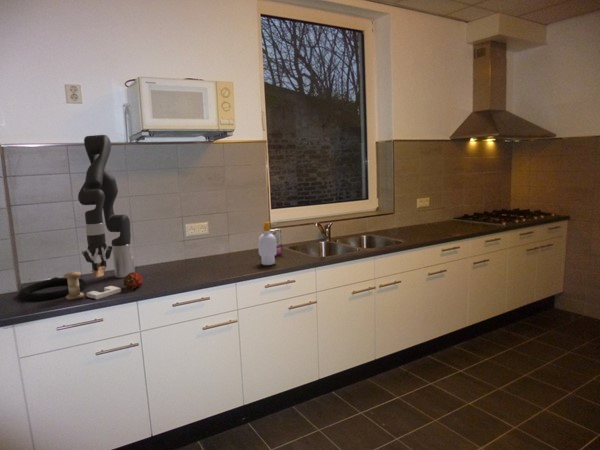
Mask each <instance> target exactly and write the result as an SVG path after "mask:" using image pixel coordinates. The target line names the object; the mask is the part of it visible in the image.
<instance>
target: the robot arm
mask: <svg viewBox="0 0 600 450" xmlns="http://www.w3.org/2000/svg"><path fill="white" fill-rule="evenodd" d="M83 143H84V148H85V151H86V155H87V157H88V160H89V162H90V165H89V166H88V168H87V169H86V174H85V181H84V183H83V184H82V187H81V188H80V189H79V192H78V195H77V199H78V201H79V203H80V204H81V205H82V206H95V208H94V209H90V210H86V211H85V212H84V218H85V232H86V233H85V235H86V242H87V249H85V250H83V251H81V253H82V255H83V257H84V259H85V260H86V262H87V263H90V264H91V270H92V269H93V270H94V271H97V263H98V262H97V260H98V257H99V258H100V260H101V261H100V262H101V263H102V264H103V265H104V266H105V267H106V268H107V260H108V259H111V256H112V258H113V259H112V260H113V269H114V277H115V278H120V279H121V278H122V279H124V277H125V276H127V275H128V274H129V273H132V272H136V270H135V269H136V268H135V259H134V257H133V255H132V245H131V221H130V220H131V219H130V218H129V216H128V215H127V214H115V211H114V203H115V201H116V198H117V196H118V192H119V189H118V184H117V179H116V177H115V176H114V175H113V173H112V172H110V170H109V169H108V168H107V167H106V165H107V163H108V161H109V160H108V159H109V157H110V154H111V151H112V144H111V138H110V137H109V136H108V135H107V134H97V135H96V134H95V135H87V136H85V137H84V139H83ZM103 216H104V218H103ZM103 219H104V220H103ZM104 223H105V225H104ZM105 227H106V229H107V230H108V232H110V233H119V236H118V237H115V238H114V239H111V245H107V243H106V232H105V231H106V230H105ZM111 254H112V255H111ZM106 268H105V270H106Z"/></svg>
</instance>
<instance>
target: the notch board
mask: <svg viewBox="0 0 600 450" xmlns="http://www.w3.org/2000/svg"><path fill="white" fill-rule="evenodd" d="M103 290H104V291H102V292H99V291H96V290H91V291H88V292H86V297H87V298H91V299H93V298H94V300H99V299H102V298H106V297H109V296H111V295H112V296H113V295H115V294H118V293H121V292H122V288H121V287H118V286H114V285H108V286H105V287H103Z"/></svg>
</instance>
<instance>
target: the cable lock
mask: <svg viewBox="0 0 600 450" xmlns="http://www.w3.org/2000/svg"><path fill="white" fill-rule="evenodd" d="M78 279H79V288H80V292H82V291H83V290H84V289H85V288H86V285H87V283H86V281H85V280H84V279H82V278H78ZM65 285H66V286H68V281H67V278H64V277H57V276H55V277H52V278H50V279H47V280H43V281H40V282H39V281H38V282H36V283H32V284H29V285H27V286H26V287H23V288H22V289H21V290H20V291H19V292H18V293H19V294H18V295H19V298H21V300H25V301H26V302H27V301H31V302H41V301H51V300H54V299H62V298H66V296H67V295H69V289H68V287H67V288H64V289H61V290H55V291H48V292H36V291H38V290H42V289H46V288H52V287H55V286H57V287H58V286H65Z"/></svg>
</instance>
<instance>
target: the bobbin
mask: <svg viewBox="0 0 600 450" xmlns="http://www.w3.org/2000/svg"><path fill="white" fill-rule="evenodd" d="M81 275H82V272H81V271H71V272H67V273H64V274H63V278H67V281H68V285H67V288H68V289H69V295H67V296H65V298H66V300H68V301H69V300H71V301H72V300H73V301H74V300H77V299H81V298H83V297H85V296H84V295H85V294H84V292H81V291H80V288H79V279H80V278H79V277H80V276H81Z"/></svg>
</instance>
